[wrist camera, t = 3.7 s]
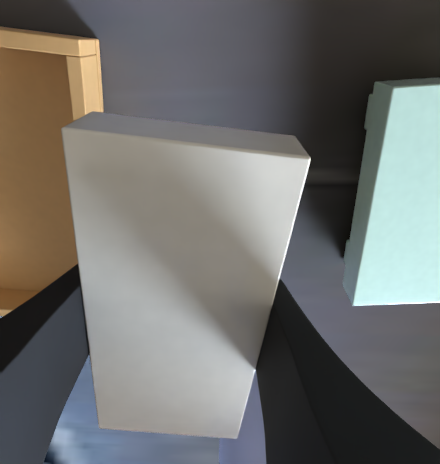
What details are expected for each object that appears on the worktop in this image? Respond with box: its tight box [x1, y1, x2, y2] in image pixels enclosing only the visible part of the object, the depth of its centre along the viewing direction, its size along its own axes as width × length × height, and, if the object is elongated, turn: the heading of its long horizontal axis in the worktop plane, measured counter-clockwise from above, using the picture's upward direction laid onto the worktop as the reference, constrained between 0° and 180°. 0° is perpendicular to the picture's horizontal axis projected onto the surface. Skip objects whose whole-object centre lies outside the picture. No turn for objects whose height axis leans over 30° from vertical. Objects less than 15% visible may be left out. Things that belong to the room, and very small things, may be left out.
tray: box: [0, 27, 104, 316], centre depth 17 cm, size 15×9×2 cm, turn 174°
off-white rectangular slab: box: [61, 111, 311, 439], centre depth 11 cm, size 11×5×3 cm, turn 173°
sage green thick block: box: [342, 77, 440, 306], centre depth 16 cm, size 11×5×3 cm, turn 4°
